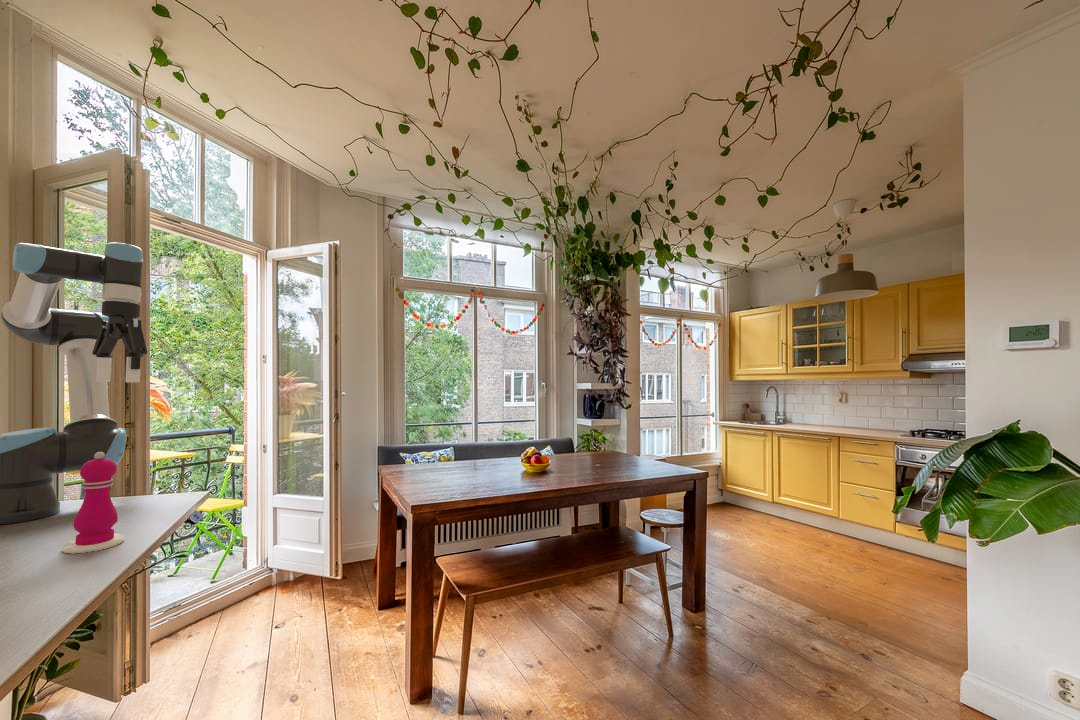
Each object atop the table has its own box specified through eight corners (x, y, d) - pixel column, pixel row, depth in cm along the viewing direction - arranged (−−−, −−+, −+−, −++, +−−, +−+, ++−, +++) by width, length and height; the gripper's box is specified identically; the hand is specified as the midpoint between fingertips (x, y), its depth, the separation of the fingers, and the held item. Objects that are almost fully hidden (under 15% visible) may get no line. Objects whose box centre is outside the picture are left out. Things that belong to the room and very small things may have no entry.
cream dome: (88, 538, 107) (88, 534, 107) (135, 536, 108) (135, 532, 108) (48, 554, 97) (48, 549, 97) (100, 552, 98) (100, 548, 98)
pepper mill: (125, 536, 106) (129, 449, 107) (92, 547, 99) (96, 454, 100) (97, 534, 107) (102, 449, 108) (62, 545, 100) (67, 453, 100)
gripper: (166, 301, 120) (162, 382, 119) (112, 306, 129) (109, 381, 128) (131, 297, 113) (127, 382, 112) (78, 302, 122) (73, 381, 121)
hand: (117, 382), depth 120 cm, fingers open, 13 cm apart
